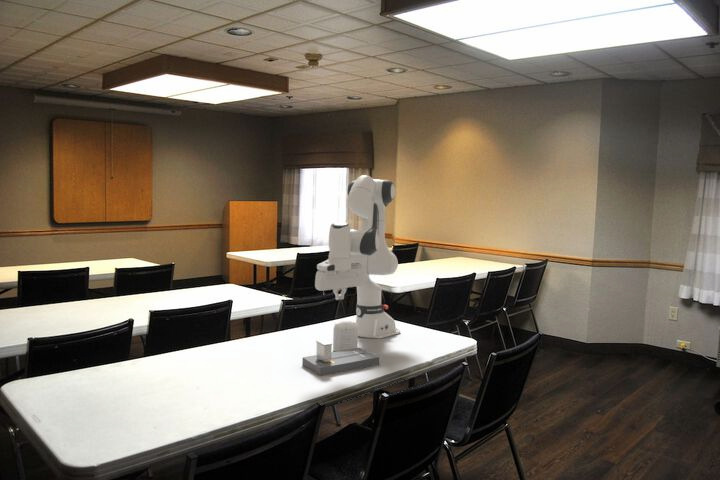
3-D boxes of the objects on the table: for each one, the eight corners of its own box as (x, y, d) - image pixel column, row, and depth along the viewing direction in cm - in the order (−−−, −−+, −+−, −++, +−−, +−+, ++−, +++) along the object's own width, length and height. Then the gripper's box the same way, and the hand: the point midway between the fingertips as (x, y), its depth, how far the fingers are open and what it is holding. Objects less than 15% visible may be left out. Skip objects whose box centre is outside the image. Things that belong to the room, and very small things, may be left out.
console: (359, 354, 220) (359, 347, 220) (379, 364, 208) (379, 356, 208) (302, 365, 206) (302, 357, 206) (320, 376, 194) (320, 367, 194)
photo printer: (356, 348, 228) (357, 320, 227) (358, 351, 224) (358, 322, 223) (332, 349, 227) (333, 320, 226) (333, 352, 223) (333, 323, 222)
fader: (323, 356, 206) (323, 339, 206) (331, 360, 201) (331, 343, 200) (316, 357, 204) (316, 340, 204) (324, 362, 199) (324, 344, 199)
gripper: (357, 261, 218) (357, 294, 219) (313, 265, 206) (313, 300, 208) (366, 263, 212) (366, 297, 214) (321, 267, 201) (321, 304, 203)
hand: (339, 299), depth 211 cm, fingers closed
